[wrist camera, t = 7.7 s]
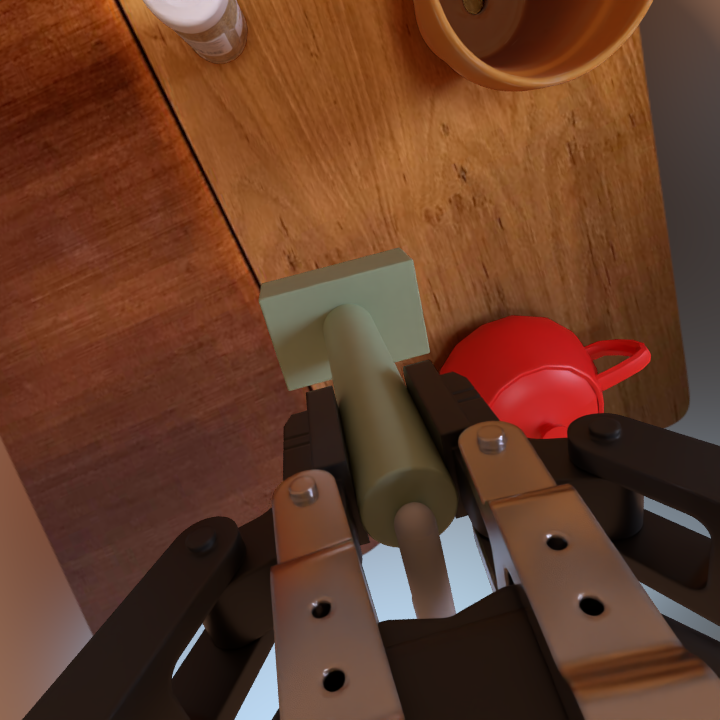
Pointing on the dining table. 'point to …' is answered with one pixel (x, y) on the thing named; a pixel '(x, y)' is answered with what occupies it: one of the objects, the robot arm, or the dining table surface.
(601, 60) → the flower pot
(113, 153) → the dining table surface
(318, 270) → the peg on square base
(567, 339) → the teapot
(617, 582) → the robot arm
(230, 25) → the sprinkles bottle
